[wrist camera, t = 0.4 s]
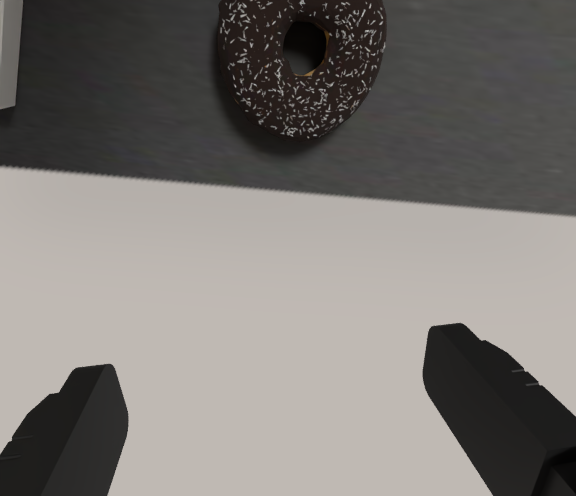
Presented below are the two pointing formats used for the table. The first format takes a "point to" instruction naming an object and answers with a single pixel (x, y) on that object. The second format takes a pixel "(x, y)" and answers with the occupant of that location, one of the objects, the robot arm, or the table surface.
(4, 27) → the white rectangular frame
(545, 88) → the table surface
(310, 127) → the donut
